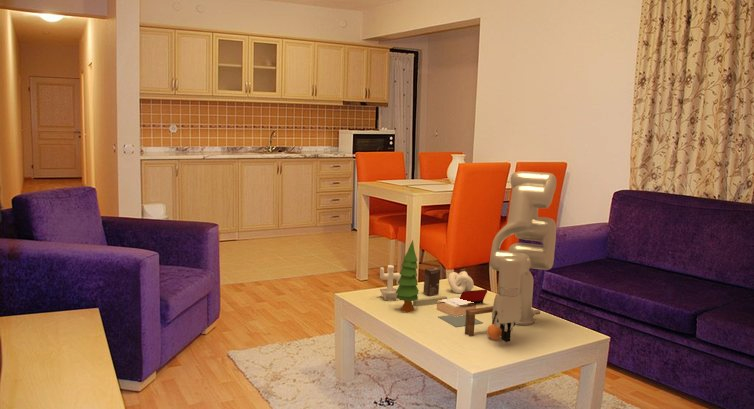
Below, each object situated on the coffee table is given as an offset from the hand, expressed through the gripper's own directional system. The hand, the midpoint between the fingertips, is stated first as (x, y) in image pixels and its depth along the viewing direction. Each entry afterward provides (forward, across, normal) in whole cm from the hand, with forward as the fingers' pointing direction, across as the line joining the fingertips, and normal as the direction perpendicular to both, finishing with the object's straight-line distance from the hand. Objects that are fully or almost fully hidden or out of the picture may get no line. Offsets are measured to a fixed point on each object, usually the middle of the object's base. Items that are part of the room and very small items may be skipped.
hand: (505, 340), depth 217 cm
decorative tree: (+2, +14, -47) cm, 49 cm away
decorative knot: (+2, -23, -63) cm, 67 cm away
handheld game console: (+2, -17, -46) cm, 49 cm away
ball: (-1, 0, -6) cm, 6 cm away
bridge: (+1, 0, -13) cm, 13 cm away
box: (+2, -8, -63) cm, 64 cm away
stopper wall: (+2, 0, -51) cm, 51 cm away
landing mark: (+1, 0, -28) cm, 28 cm away
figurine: (+2, +13, -64) cm, 65 cm away
